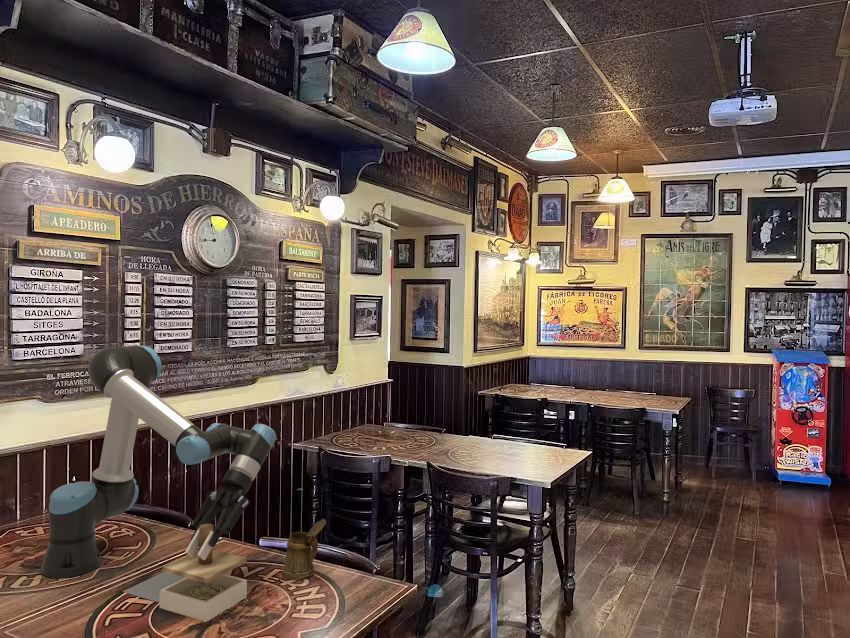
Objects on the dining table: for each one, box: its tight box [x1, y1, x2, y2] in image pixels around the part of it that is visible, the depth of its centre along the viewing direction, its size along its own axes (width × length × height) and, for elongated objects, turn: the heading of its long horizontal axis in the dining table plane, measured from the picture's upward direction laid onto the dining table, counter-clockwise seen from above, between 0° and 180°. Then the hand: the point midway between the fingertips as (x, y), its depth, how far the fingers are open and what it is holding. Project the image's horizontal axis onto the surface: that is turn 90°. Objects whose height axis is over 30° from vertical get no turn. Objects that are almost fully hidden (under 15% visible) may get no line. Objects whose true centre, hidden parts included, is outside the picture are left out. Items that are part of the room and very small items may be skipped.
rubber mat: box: [122, 572, 185, 604], centre depth 171 cm, size 15×16×1 cm
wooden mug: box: [281, 518, 327, 581], centre depth 181 cm, size 9×14×18 cm, turn 58°
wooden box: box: [159, 573, 248, 623], centre depth 162 cm, size 15×15×5 cm
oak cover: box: [161, 523, 248, 583], centre depth 162 cm, size 14×14×11 cm
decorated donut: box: [183, 585, 225, 601], centre depth 162 cm, size 10×11×4 cm
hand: (195, 555), depth 159 cm, fingers closed on oak cover, 3 cm apart
